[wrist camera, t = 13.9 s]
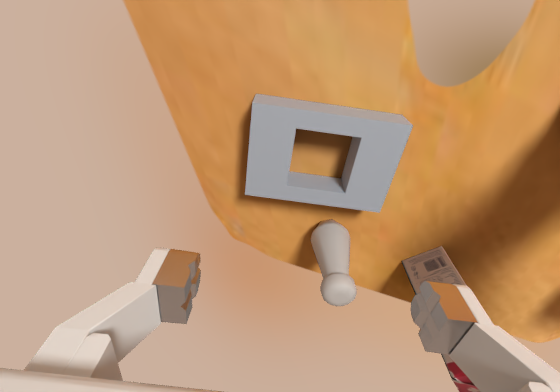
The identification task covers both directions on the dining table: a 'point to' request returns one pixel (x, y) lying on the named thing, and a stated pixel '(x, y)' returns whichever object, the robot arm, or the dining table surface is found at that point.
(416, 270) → the juice carton
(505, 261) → the dining table surface
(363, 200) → the socket board
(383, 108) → the dining table surface
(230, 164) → the dining table surface
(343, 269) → the salt shaker
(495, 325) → the robot arm
